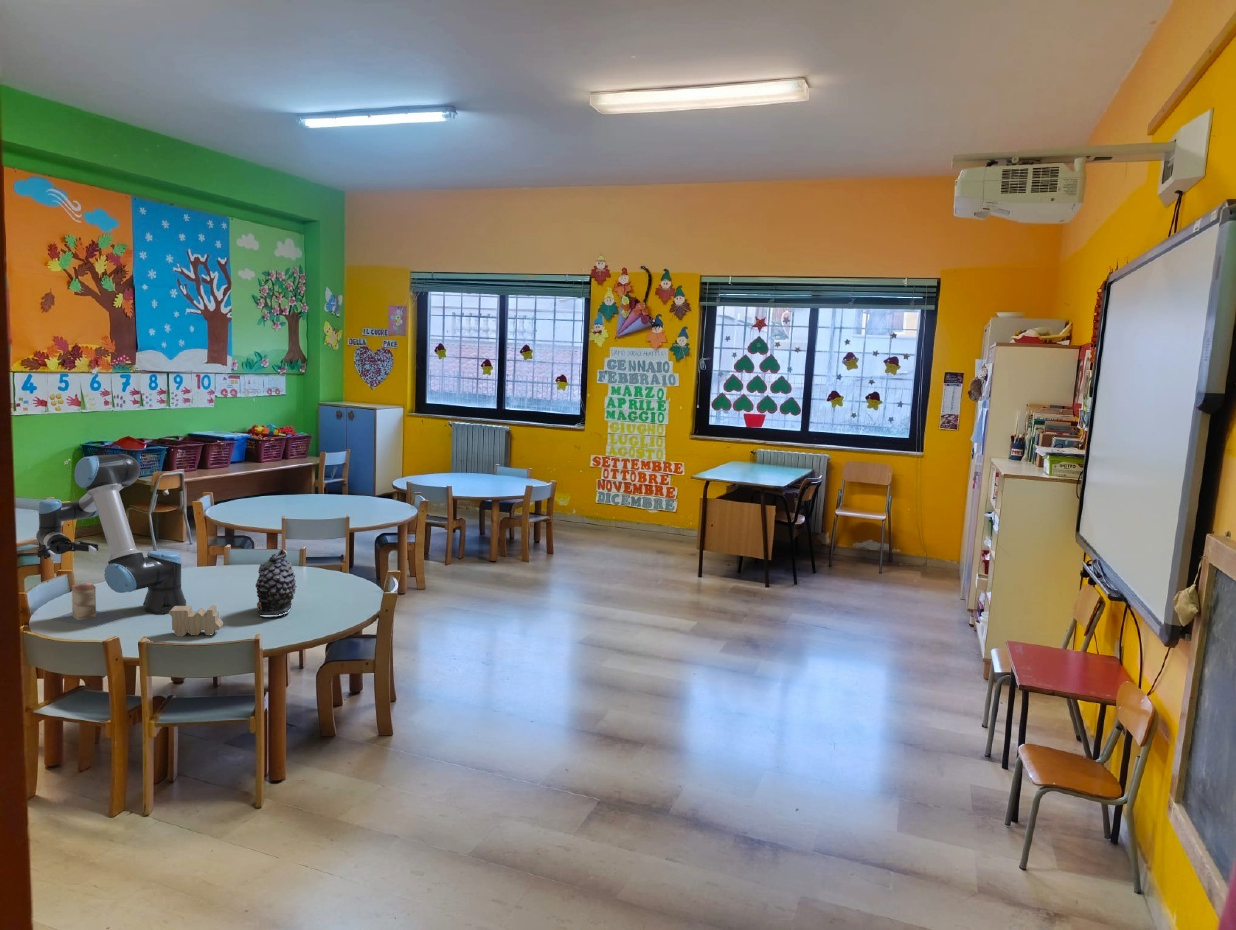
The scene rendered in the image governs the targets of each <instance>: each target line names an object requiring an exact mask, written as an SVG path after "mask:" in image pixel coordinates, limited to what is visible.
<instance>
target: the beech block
mask: <svg viewBox="0 0 1236 930" xmlns="http://www.w3.org/2000/svg"><path fill="white" fill-rule="evenodd" d="M96 589H97V588H96V586H95V585H94V584H93V583H91V582H88V583H86V582H85V583H81V584H80V583H79V584H73V585H71V603H72V604H71V605H72V611H71V612H72V614H73V617H74V618H75V619H77V620H82V619H88V618H94V617H96V611H97V606H96V604H97V602H96V597H97V596H96V595H97V594H96V593H97V591H96Z"/></svg>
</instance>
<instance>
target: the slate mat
mask: <svg viewBox="0 0 1236 930" xmlns="http://www.w3.org/2000/svg"><path fill="white" fill-rule="evenodd" d="M125 616H127V615H126V614H123V613H122V614H120V613H113V612H106V611H101V610H96V617H94V618H88V619H82V620H77V619H75V618H74V617H73V614H72V611H71V612H68V613H65V614H63V615H59V616H57V617H54V618H51V619H50V621H57V622H63V623H64V622H65V623H70V624H76V625H83V626H89V627H90V626H91V627H99V626H101V625H104V624H107V623H110V622H112V621H114V620H118V619H120V618H123V617H125Z"/></svg>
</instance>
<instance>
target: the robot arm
mask: <svg viewBox="0 0 1236 930" xmlns="http://www.w3.org/2000/svg"><path fill="white" fill-rule="evenodd" d="M140 475H141V466H140V463H139V462H138V460H136V459H135V458H134V456H131V455H129V454H124V453H117V454H116V453H115V454H101V455H96V454H95V455H91V456H84V457H82V458H81V459H79V461H77V463H76V465H75V468H74V480H75V483H76V485H78V487H80V488H82V489H85V490H86V491H85V492H86V493H85V494H84V495H83V496H82V497H80V498H79V499H78V500H75V501H68V502H62V500H61V499H58V498H48V499H47V498H46V499H42V500H40V501H39V503H38V510H37V511H38V524H39V525H38V530H37V532H36V535H35V538H36V540H37V542H38V543H39V544H40V546H41V547H40V548H39V549H38V550H37V558H42V557H43V560H46V559H47V560H48V559H49V560H50V561H52V562H56V561H57V559H56V557H57V556H56V555H63V554H66V553H67V552H77V551H79V552H88V554H91V556H93V557H97V554H98V553H97V552H98V551H99V544H98V543H94V542H93V543H91V542H86V541H83V540H78V542H75V541H74V542H73V541H72V540H71V539H70V538H69V537H68V536H67V535H65V534H64V533H62V523H63V522H67V521H68V522H69V521H76V520H83V519H90V518H94V517H97V516H98V518H99V520H100V521H99V522H100V524H101V526H102V531H103V535H104V537H105V540H106V544H107V547H108V550H109V553H110V557H109V558H108V560H107V564H108V565H107V566H106V567H105V568H104V579H105V582H106V584H107V586H108V587H109V588H110V589H111V590H112V591H114V592H115V593H118V594H125V593H132V592H134V591H138V590H142V589H147V592H146V594H145V598H144V601H143V603H142V611H144V612H145V613H149V614H152V615H154V614H155V615H165V614H169V611H170V610H171V609H172V608H173V607H174V606H187V599H186V598H185V595H184V593H183V589H182V563H183V562H182V556H181V554H180V553H179V552H178V551H177V552H176V551H173V550H159V549H158V550H150V551H148V552H147V553H146V556H147V557H145V556H144V554H143V552H142V550H139V549H137V547H136V544H135V543H136V542H135V540H134V537H133V533H132V530H131V527H130V524H129V520H128V517H127V515H126V514H127V513H126V511H125V508H124V503H123V502H122V498H121V497H122V496H121V494H120V491H121V490H122V489H124V488H127V487H130V486H131V485H132V484H134V483H136V481H137V480H138V479H139V477H140ZM164 613H165V614H164Z"/></svg>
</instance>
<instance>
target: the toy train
mask: <svg viewBox="0 0 1236 930" xmlns="http://www.w3.org/2000/svg"><path fill="white" fill-rule="evenodd" d="M168 614H169V615H170V617H171V626H172V627H171V630H172V631H173V633H174V634H175V636H177V637H179V636H182V637H184V636H185V635H186V634H187V633H188V634H190V635H191V636H192V635H197V636H198V635H200V633H202V631H204V634H205V636H207V635H210V634H213V635H214V633H215V632H216V631H220V629H221V628H222V627H223V625H224V622H223V620H222V619H221V618H220V611H217V605H213V604H212V605H210V606H209V608H208V609H207V610H206V609H205V608H199V609H198V610H197V611H193V607H192V605H186V606H174V607H173V608H172V609H171V610H170V611H169V613H168Z"/></svg>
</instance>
